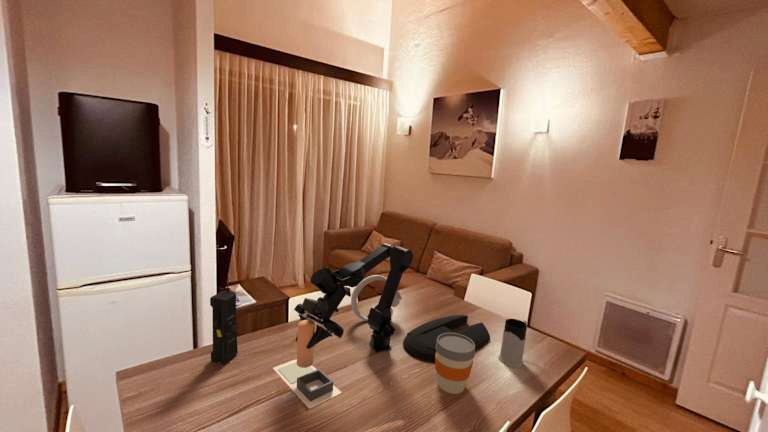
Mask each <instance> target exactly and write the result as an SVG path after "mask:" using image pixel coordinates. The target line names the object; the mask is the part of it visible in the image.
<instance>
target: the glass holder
mask: <svg viewBox="0 0 768 432" xmlns="http://www.w3.org/2000/svg"><path fill="white" fill-rule="evenodd" d="M527 329H528V323H527V320H524V319H523V320H519V319H516V318H507V319H505V323H504V329H503V332H502V341H501V347H500V351H499V355H498V360H499V362H501V364H503V365H505V366H507V367H509V368H521V367H523V366H524V362H523V359H524V358H523V357H524V352H525V351H524V350H525V344H526V341H527V340H526V339H527V338H526V337H527V336H526V335H527Z"/></svg>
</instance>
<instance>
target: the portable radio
mask: <svg viewBox="0 0 768 432" xmlns="http://www.w3.org/2000/svg"><path fill="white" fill-rule="evenodd" d="M209 301H210V302H209V304H210V307H212V308H211V309H212V351H211V352H210V360H211V361H212V362H213V363H218V364H224V365H225V364H227V363H228V362H230V360H232V359H233V358H234V357H235V356H236V355H238V353H239V351H238V349H239V348H238V330H237V327H238V326H237V294H236V291H231V290H229V284H226V290H222V291H219V292H218V293H217V294H215V295H212V296H211V297H210V299H209Z"/></svg>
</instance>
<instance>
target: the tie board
mask: <svg viewBox="0 0 768 432" xmlns="http://www.w3.org/2000/svg"><path fill="white" fill-rule="evenodd" d="M272 370H274V372H275V373H276V374H277V375H278V376H279V377H280V378H281V380H283V382H284V383H286V384H287V386H288V387H289V389H291V390H292V392H293V393H294V394H296V396H297V397H298V398H299V399H300V400H301V401H302V402H303V404H304V405H306V407H307V408H308V409H309V410H310V409H312V408H315V407H316V406H319V405H320V404H322V403H325V402H326V401H328V400H330V399H332V398H334V397H336V396H338V395H340V394H342V391H341V390H340V389H339V388H337V386H335V385H334V380H332V379H331V378H330V377H329V376H328V375H327V374H326V373H325V372H324V371H323V370H321V369H320V368H318V369H317V368H316V367H315V366H313V364H312V365H311V366H310V367H306V368H302V367H299V366H298V365H297V358H296V359H293V360H292V359H291V360H290V361H288V362H284V363H281V364H279V365H277V366H274V367H272Z"/></svg>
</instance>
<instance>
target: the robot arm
mask: <svg viewBox="0 0 768 432" xmlns="http://www.w3.org/2000/svg"><path fill="white" fill-rule="evenodd" d="M388 258H389V260H388V261H389V267H390V269H389V271H388V275H387V276H386V278H387V280H386V281H385V283H384V286H383V289H382V292H381V295H380V298H379V300H378V303H377V304H376V305H377V306H376V307H374V306H373V307H374V308H372V307H370V309H369V313H368V315H367V316H366V317H367V318H368V320H367V321H366V322H367V324H368V326H369V329H370V330H372V332H371V333H372V334H371V336H370V342H369V345H370V346H371V348H373V350H374V351H375V352H377V353H379V352H383V351H388V350H389V351H390V350H392V346H391V345H390V344H391V337H392V336H394V334H395V331H396V328H395V327H394V326H393V325H392V324H391V322H392V317H393V316H391V310H390V309H391V308H392V303H393V300H394V297H395V294H396V291H397V290H398V288H399V284H400V282H401V279H402V277H403V274H404V272H405V271H407V270H408V269H409V268H410V266H411V264H412V263H413V259H414V254H413V252H412V250H410V249H408V248H405V247H401V246H398V245H396V246H394V245H393V244H389V243H387V242H384V243H381V245H380V246H379V247H378V248H376V249H375V250H373V251H371V252H370V253H369V254H367V255H365V256H364V257H363V258H361V259H359V260H358V261H354V262H350V263H347V264H345V265H343V266H341V267H340V268H339V269H336V270H334V271H332V269H330V267H327V266H323V267H322V268H320V269H318V270H316V271H315V272H313V273H312V275H311V276H310V283H311V284H312V286H314V287H315V288H316V289H317V290H318V291H320V292H321V293H322V294H324V296H323V297H321V296H319V297H318V298H317V300H315V299H314V298H313V299H312V298H307V297H305V298H304V299H303V302H302V303H299V304H296V306H295V307H294V309H293V310H294V311H295V312H296V313H297V314H298V317H299V320H300V321H302V320H311V321H313V322H316V323H317V324H316V326H315V331H314V335H313V336H312V338H311V340H310V341H309V343H308V345H307V347H306V348H307V349H310V348H311V347H313V346H314V347H315V346H316V345H317V344H319V343H320V342H322V341H324V340H326V339H328V338H329V337H333V335H334V336H335V337H337V338H339V339H341V338H342V337H343V335H344V333H345V331H344V330H345V329H344V328H343V327H342V326H341V325H339V324H338V323H337V322H336V321H334V320H332V317H333V315H334V314H335V313H338V312H339V309H338V307H339V306H340V304H341V303H342V301H343V299H344V298H345V297H346V296H347V297H350V298H351V297H352V293H351V288H355V287H356V286H357V285H358V284H359V283H360V282H361V281H362V280H363V279H365V278H366V277H365V276H366V274H368V273H369V272H370V271H372V270H373V269H374V268H376V267H377V266H379V265H380V264H382V263H383V262H384V261H386V260H387V259H388ZM347 286H348V287H347ZM300 321H299V322H300ZM297 336H298V333H297V335H296V337H295V341H296V342H297Z"/></svg>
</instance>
